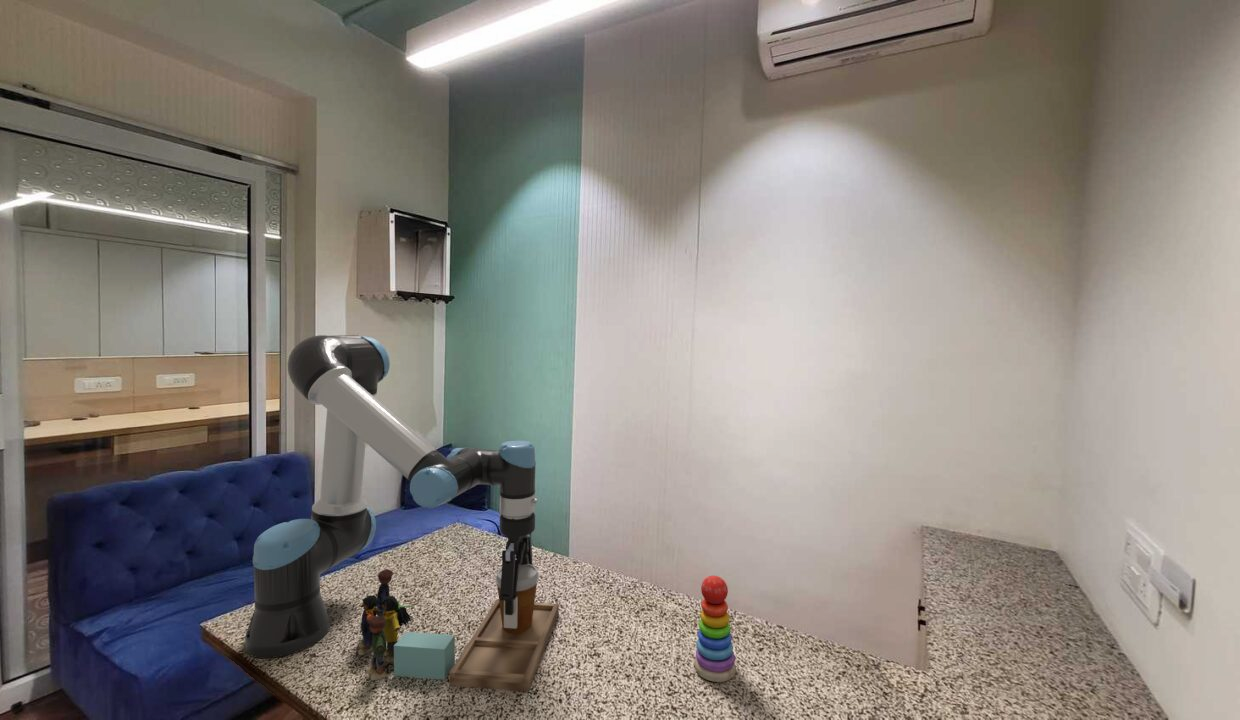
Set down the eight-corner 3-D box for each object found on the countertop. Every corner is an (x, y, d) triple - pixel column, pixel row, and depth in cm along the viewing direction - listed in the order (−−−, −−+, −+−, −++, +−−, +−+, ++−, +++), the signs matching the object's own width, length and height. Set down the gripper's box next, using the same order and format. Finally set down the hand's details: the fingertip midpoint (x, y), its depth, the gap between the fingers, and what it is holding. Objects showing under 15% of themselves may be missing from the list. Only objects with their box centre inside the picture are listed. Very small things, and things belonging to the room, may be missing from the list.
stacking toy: (706, 652, 103) (708, 563, 102) (742, 668, 98) (744, 575, 97) (686, 671, 97) (688, 577, 96) (723, 690, 92) (725, 591, 91)
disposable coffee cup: (514, 644, 102) (515, 587, 102) (485, 627, 108) (485, 573, 108) (548, 623, 110) (548, 570, 109) (519, 608, 116) (519, 557, 115)
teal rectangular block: (394, 676, 95) (393, 645, 94) (406, 660, 99) (406, 631, 99) (444, 680, 94) (444, 649, 94) (454, 664, 98) (454, 635, 98)
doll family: (343, 631, 109) (342, 571, 108) (387, 616, 115) (387, 559, 114) (374, 688, 91) (373, 617, 91) (424, 667, 97) (423, 600, 97)
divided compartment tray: (449, 685, 92) (449, 672, 92) (496, 610, 118) (496, 600, 117) (528, 691, 91) (528, 678, 91) (558, 614, 116) (558, 603, 116)
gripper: (519, 533, 97) (519, 646, 98) (546, 498, 118) (545, 591, 119) (482, 531, 98) (482, 643, 99) (515, 496, 119) (515, 589, 120)
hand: (517, 614), depth 109 cm, fingers open, 9 cm apart
